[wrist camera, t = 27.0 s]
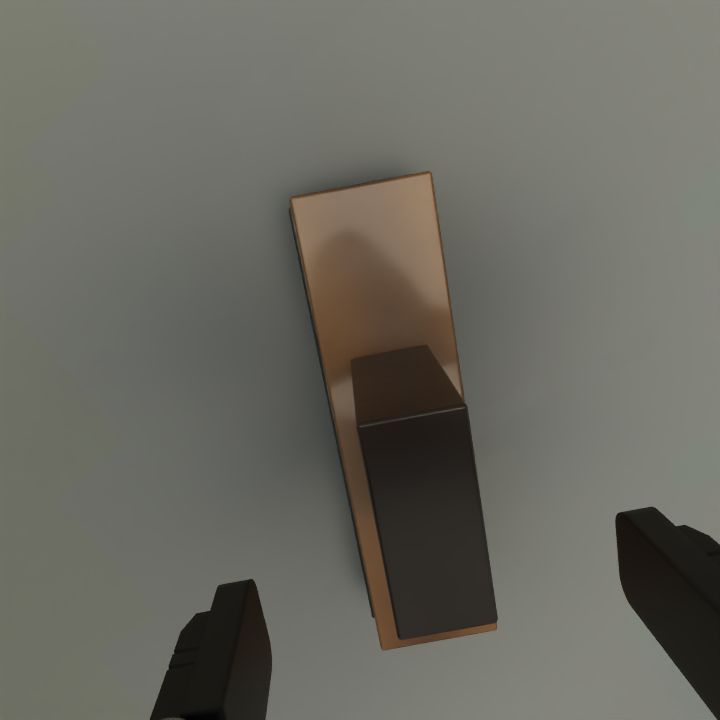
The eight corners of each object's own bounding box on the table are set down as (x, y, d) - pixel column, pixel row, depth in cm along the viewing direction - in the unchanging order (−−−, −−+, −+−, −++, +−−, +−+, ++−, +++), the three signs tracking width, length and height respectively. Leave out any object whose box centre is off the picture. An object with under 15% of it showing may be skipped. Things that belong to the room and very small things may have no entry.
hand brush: (370, 594, 26) (390, 809, 17) (290, 198, 22) (256, 197, 13) (481, 574, 26) (561, 778, 17) (422, 174, 22) (486, 154, 13)
